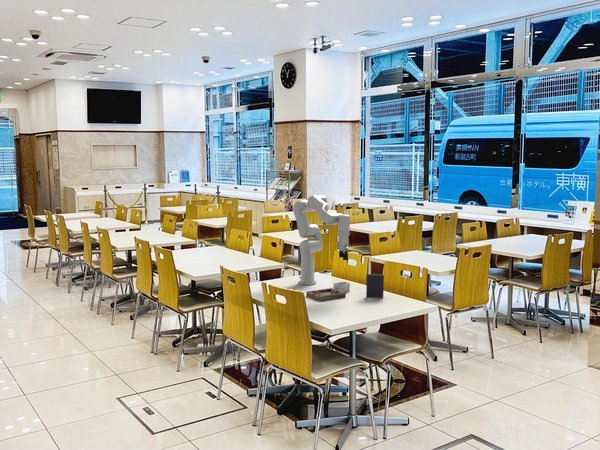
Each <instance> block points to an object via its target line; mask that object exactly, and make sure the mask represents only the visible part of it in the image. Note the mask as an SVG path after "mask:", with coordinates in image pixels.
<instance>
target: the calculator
mask: <svg viewBox="0 0 600 450" xmlns="http://www.w3.org/2000/svg"><path fill="white" fill-rule="evenodd" d="M384 282H385V275H384V274H380V273H379V274H378V273H367V274H366V286H365V287H366V291H365V292H366V294H365V296H366V298H373V299H375V298H377V299H379V298H380V299H383V298H384V287H385V286H384V285H385V283H384Z"/></svg>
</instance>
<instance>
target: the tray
mask: <svg viewBox="0 0 600 450" xmlns="http://www.w3.org/2000/svg"><path fill="white" fill-rule="evenodd" d="M346 293H347V292H342V291H339V290H336V289H333V287H329V288H322V289H315V290H310V291H309V290H308V291H306V294H305V295H306V298H307V297H308V298H310V299H313V300H316V301H318V302H324V301H325V302H326V301H330V300H338V299H345V298H346V296H347V294H346Z"/></svg>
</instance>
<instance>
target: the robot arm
mask: <svg viewBox="0 0 600 450" xmlns="http://www.w3.org/2000/svg"><path fill="white" fill-rule="evenodd" d="M292 210H293V215H294V218H295V221H296V226H297V231H298V234H299V236H300V238H301V239H304V240H302V241H301V242H300V243H299V251H300V276H299V279H300V280H299V281H298V284H299V285H302V286H311V285H312V286H314V285H316V284H317V281H316V280H315V257H314V255H313V253H318V252H319V253H320V252H321V251H322V250H323V247H324V243H323V239H322V234H321V229H320V227H319V225H317V224H315V223H313V224H310V221H309V218H308V216H307V215H306V213H307V212H309V213H310V212H317V213H318V218H319V219H320V221H321V222H323V223H324V224H325V225H327V226H336V225H338V226H337V227H338V229H337V236H338V241H337V249H338V252H339V253H338V255H339V256H338V257H339V258H342V260H343V261H348V260H349V246H350V244H349V240H350V239H349V236H350V235H351V232H350V231H351V229H350V226H351V225H350V224H351V223H350V222H351V220H350V219H351V218H350V217H351V216H350V215H349V214H343V213H340V212H338V213H337V212H336V213H328V211H329V204H328V199H327V197H326V195H323V194H313V195H310V196H309V197H308V198H307V199H301V200H297V201H295V202H294V204H293V207H292Z"/></svg>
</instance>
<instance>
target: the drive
mask: <svg viewBox="0 0 600 450" xmlns="http://www.w3.org/2000/svg"><path fill="white" fill-rule="evenodd" d="M332 283H333V282H332ZM350 285H351V284H350V282H348V281H342V282H341V281H340V282H335V283H333V287H332V288H333V289H336V290H339V291H342V292H344V293H350V291H351V290H350V289H351V287H350Z"/></svg>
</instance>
